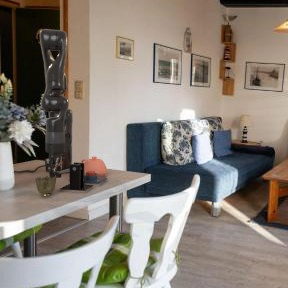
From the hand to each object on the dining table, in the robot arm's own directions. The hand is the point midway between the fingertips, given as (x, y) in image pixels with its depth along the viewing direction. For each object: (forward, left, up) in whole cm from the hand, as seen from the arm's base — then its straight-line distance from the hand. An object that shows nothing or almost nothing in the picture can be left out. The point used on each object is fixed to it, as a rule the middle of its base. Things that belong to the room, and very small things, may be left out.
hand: (55, 179), depth 166 cm
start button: (+11, +13, -1) cm, 17 cm away
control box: (+10, +13, -4) cm, 17 cm away
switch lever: (+5, 0, +3) cm, 6 cm away
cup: (+3, -13, -4) cm, 14 cm away
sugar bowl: (+6, +26, -4) cm, 27 cm away
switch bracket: (+9, 0, -4) cm, 10 cm away
